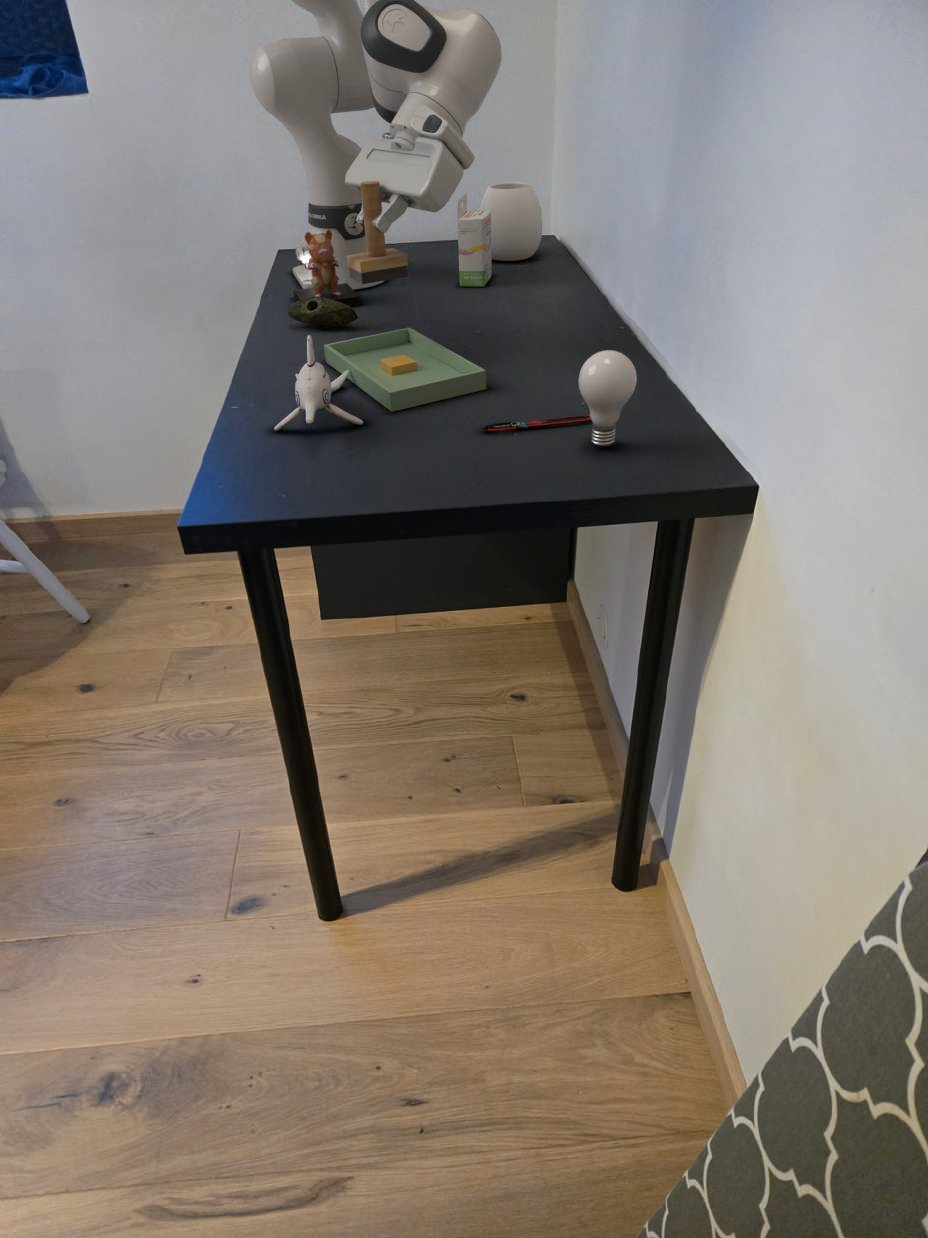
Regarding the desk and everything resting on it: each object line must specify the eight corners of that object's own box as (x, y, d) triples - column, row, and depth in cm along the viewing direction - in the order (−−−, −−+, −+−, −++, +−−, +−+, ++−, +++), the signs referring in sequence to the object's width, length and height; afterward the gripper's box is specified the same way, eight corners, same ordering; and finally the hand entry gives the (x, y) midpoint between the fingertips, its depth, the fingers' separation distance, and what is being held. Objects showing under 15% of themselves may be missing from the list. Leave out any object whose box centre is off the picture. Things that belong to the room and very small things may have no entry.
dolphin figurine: (263, 446, 93) (247, 346, 88) (287, 411, 116) (276, 330, 111) (361, 439, 93) (350, 339, 89) (366, 405, 116) (357, 325, 112)
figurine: (304, 312, 143) (293, 238, 136) (294, 298, 151) (283, 227, 144) (360, 304, 146) (352, 232, 139) (347, 291, 154) (339, 221, 147)
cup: (543, 264, 165) (545, 189, 157) (478, 266, 165) (476, 192, 157) (539, 249, 176) (540, 178, 168) (478, 251, 176) (476, 181, 168)
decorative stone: (292, 337, 132) (287, 305, 129) (289, 324, 138) (284, 293, 135) (359, 330, 134) (356, 298, 131) (354, 317, 140) (350, 287, 137)
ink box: (485, 287, 152) (483, 199, 144) (458, 287, 153) (455, 199, 145) (493, 275, 159) (491, 191, 151) (468, 275, 160) (465, 191, 151)
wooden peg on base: (348, 277, 116) (337, 183, 109) (394, 269, 119) (386, 176, 112) (362, 284, 113) (351, 187, 106) (409, 276, 115) (402, 180, 108)
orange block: (380, 367, 118) (379, 359, 117) (405, 362, 119) (404, 353, 118) (392, 375, 115) (391, 367, 114) (417, 369, 116) (417, 361, 115)
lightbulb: (570, 436, 97) (574, 344, 91) (623, 433, 98) (630, 340, 91) (581, 460, 92) (586, 363, 86) (636, 456, 92) (645, 359, 86)
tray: (325, 361, 122) (323, 344, 121) (411, 344, 127) (409, 327, 126) (391, 412, 106) (389, 392, 104) (486, 388, 111) (486, 370, 109)
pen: (595, 422, 100) (596, 417, 100) (483, 434, 98) (483, 429, 98) (590, 416, 102) (591, 411, 101) (480, 427, 100) (480, 422, 100)
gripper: (365, 115, 115) (315, 202, 116) (454, 123, 102) (396, 221, 103) (394, 148, 120) (346, 231, 121) (483, 159, 106) (427, 253, 107)
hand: (370, 227), depth 112 cm, fingers closed on wooden peg on base, 2 cm apart
